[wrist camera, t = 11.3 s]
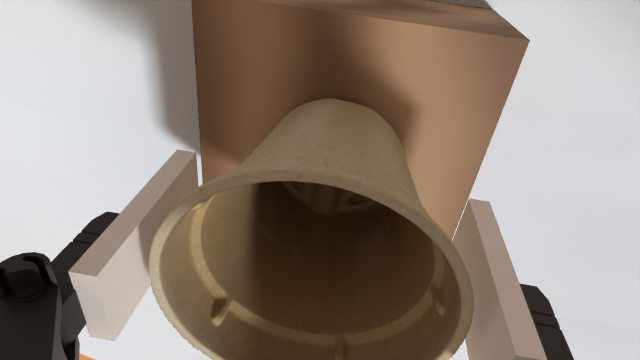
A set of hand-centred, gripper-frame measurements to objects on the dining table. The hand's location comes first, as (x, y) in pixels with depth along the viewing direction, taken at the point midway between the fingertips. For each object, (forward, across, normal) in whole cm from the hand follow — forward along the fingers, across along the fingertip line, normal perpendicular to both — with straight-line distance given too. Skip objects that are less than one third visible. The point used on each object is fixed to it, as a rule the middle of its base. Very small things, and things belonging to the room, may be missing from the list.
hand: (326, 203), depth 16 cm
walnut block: (+9, 0, 0) cm, 9 cm away
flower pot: (+4, 0, 0) cm, 4 cm away
